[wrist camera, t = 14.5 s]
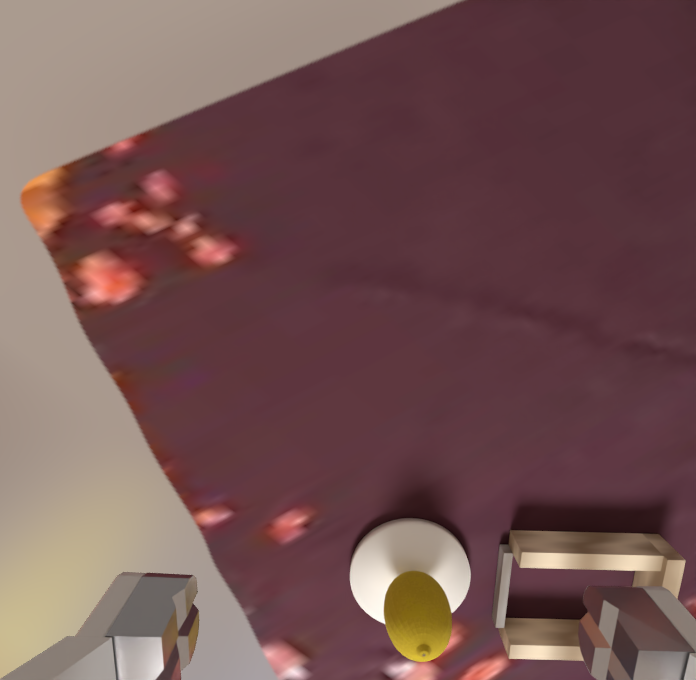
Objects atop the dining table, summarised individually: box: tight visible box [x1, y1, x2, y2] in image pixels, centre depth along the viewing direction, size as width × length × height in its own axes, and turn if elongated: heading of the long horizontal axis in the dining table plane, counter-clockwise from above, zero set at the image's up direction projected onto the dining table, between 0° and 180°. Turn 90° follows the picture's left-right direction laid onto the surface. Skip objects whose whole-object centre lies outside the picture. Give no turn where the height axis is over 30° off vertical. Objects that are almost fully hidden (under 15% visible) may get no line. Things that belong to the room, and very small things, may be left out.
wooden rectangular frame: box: [492, 530, 686, 661], centre depth 42 cm, size 14×11×4 cm
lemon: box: [384, 571, 452, 662], centre depth 38 cm, size 6×6×8 cm
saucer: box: [350, 518, 471, 624], centre depth 43 cm, size 11×11×1 cm
